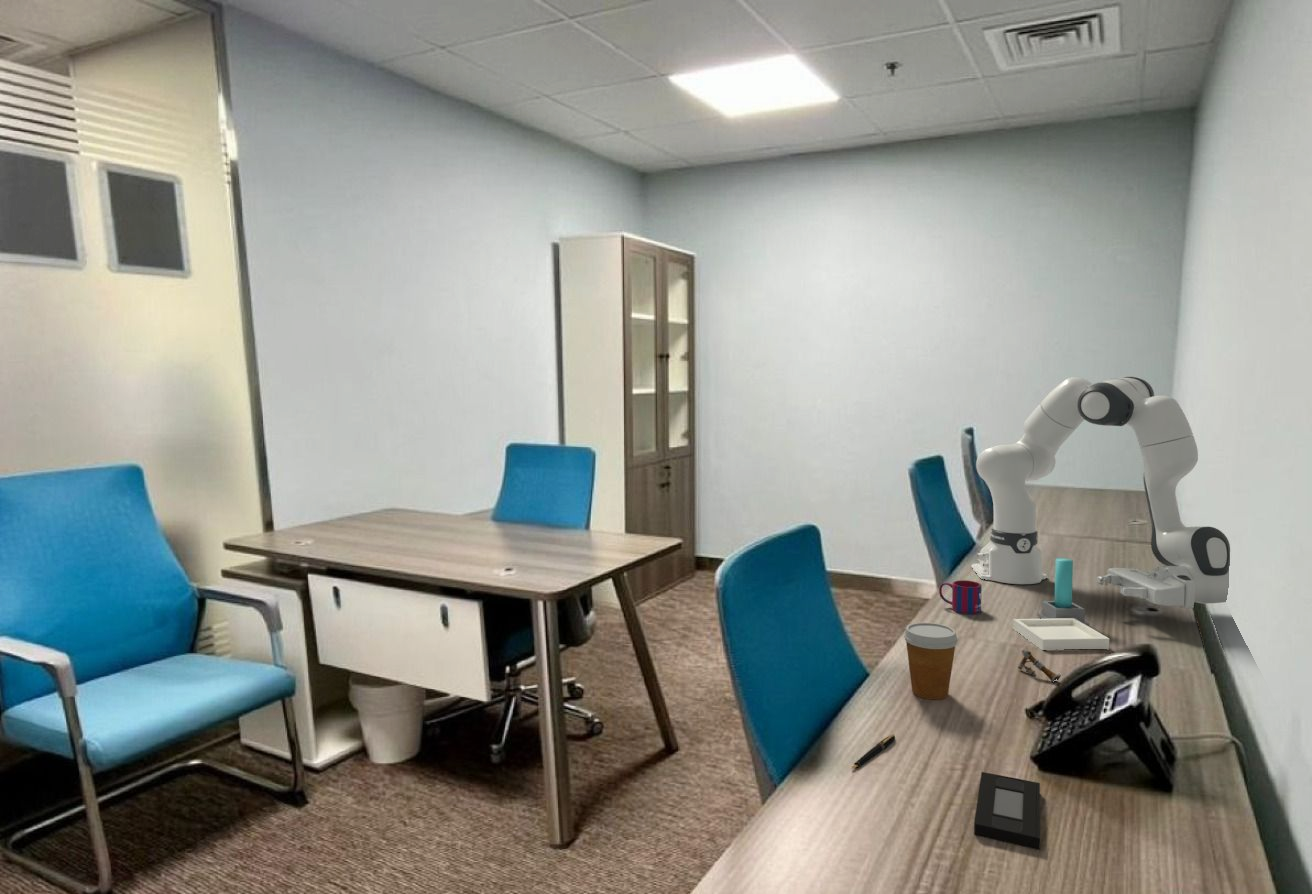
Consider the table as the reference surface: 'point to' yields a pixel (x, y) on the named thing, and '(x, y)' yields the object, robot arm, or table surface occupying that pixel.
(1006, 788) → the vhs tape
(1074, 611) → the holder
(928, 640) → the disposable coffee cup
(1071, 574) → the dowel
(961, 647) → the table surface
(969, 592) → the cup
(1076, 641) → the tray
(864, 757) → the fountain pen
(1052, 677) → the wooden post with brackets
